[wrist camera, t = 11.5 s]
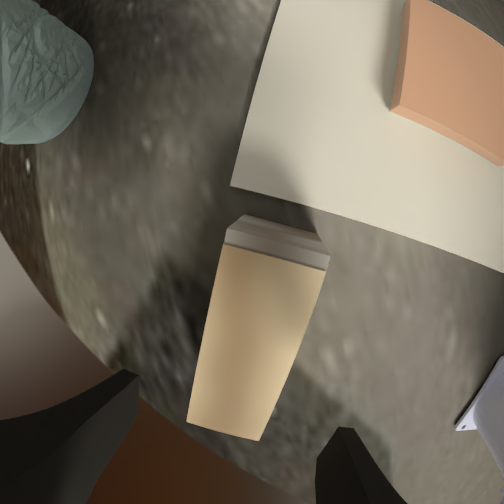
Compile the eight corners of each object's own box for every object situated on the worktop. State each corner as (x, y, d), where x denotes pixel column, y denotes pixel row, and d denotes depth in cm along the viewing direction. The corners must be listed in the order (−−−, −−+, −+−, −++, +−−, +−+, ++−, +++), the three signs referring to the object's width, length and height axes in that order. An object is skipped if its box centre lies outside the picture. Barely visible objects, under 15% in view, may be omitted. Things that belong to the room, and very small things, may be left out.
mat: (550, 92, 10) (554, 91, 10) (524, 281, 14) (527, 283, 14) (295, -38, 11) (295, -42, 11) (231, 185, 15) (229, 185, 15)
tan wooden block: (316, 233, 16) (330, 256, 11) (265, 386, 18) (258, 441, 13) (244, 213, 16) (226, 228, 11) (207, 370, 18) (186, 421, 14)
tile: (494, 166, 13) (500, 62, 11) (512, 166, 11) (514, 56, 9) (387, 112, 13) (401, 6, 11) (399, 104, 11) (410, -8, 9)
